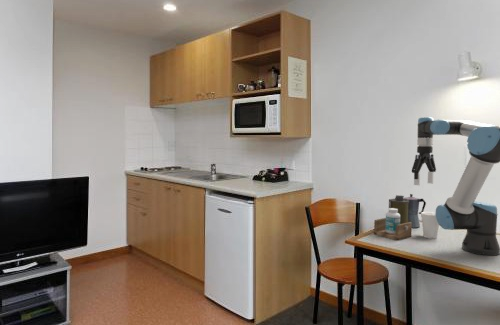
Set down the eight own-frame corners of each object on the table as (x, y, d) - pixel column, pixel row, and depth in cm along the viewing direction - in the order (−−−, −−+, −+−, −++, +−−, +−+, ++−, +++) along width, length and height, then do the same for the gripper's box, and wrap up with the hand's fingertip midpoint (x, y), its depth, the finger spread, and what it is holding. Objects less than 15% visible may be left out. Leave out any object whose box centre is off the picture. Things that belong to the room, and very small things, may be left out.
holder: (412, 237, 185) (413, 222, 184) (399, 240, 178) (400, 225, 178) (385, 230, 199) (386, 217, 198) (372, 233, 192) (373, 219, 192)
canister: (404, 226, 208) (405, 194, 206) (410, 231, 197) (411, 197, 196) (386, 226, 209) (386, 194, 208) (391, 230, 198) (392, 197, 197)
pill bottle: (382, 231, 190) (382, 208, 190) (392, 230, 193) (393, 207, 192) (392, 235, 183) (392, 210, 183) (402, 233, 186) (403, 209, 185)
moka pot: (404, 223, 217) (404, 192, 216) (429, 227, 205) (430, 195, 204) (396, 225, 211) (397, 193, 210) (422, 230, 199) (423, 196, 198)
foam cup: (426, 239, 181) (426, 215, 180) (417, 234, 190) (418, 211, 190) (443, 239, 181) (444, 215, 180) (434, 234, 190) (434, 211, 190)
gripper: (430, 145, 195) (429, 182, 197) (405, 145, 182) (404, 185, 183) (443, 145, 189) (442, 183, 191) (418, 146, 176) (417, 186, 177)
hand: (423, 184), depth 187 cm, fingers open, 13 cm apart
